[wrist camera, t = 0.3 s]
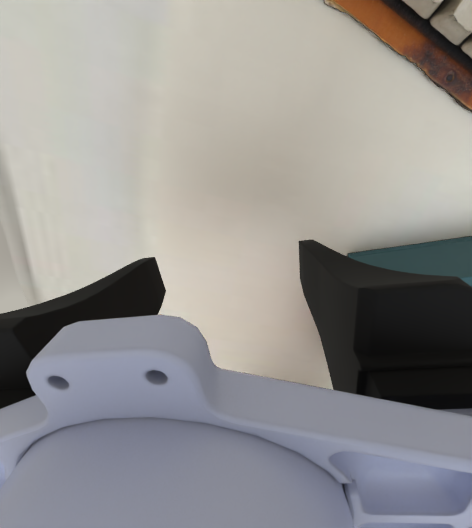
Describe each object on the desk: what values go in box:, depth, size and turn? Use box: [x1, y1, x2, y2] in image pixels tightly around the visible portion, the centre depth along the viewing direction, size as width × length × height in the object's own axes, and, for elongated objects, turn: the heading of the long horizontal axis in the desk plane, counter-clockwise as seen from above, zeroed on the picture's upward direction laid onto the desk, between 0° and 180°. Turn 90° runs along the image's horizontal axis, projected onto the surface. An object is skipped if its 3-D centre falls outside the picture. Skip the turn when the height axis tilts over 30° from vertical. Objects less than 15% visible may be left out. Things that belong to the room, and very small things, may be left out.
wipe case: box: [348, 236, 472, 287], centre depth 23 cm, size 11×13×6 cm
